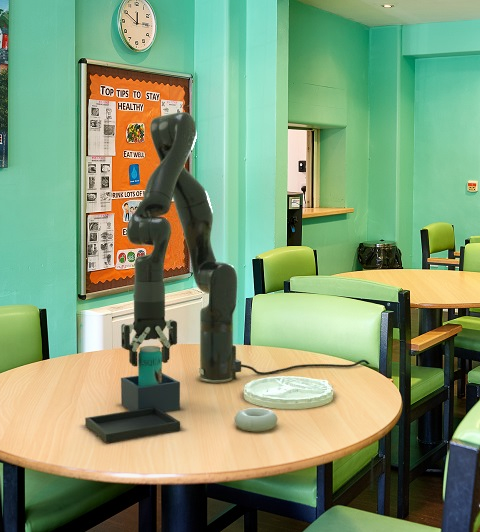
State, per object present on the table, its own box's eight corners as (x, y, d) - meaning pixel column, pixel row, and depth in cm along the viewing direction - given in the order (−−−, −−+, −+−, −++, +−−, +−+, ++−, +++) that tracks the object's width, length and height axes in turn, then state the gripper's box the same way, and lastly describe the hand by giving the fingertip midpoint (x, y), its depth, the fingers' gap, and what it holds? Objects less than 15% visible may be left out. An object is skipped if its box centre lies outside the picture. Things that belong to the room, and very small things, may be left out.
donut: (275, 420, 194) (233, 420, 193) (275, 406, 193) (233, 405, 192) (279, 433, 184) (234, 433, 183) (279, 419, 183) (235, 418, 182)
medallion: (224, 396, 213) (224, 387, 213) (293, 377, 233) (293, 369, 232) (292, 415, 197) (292, 405, 197) (359, 393, 217) (359, 384, 217)
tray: (156, 414, 196) (156, 406, 196) (180, 430, 185) (180, 421, 185) (85, 426, 187) (85, 417, 187) (106, 443, 176) (106, 434, 175)
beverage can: (157, 411, 199) (157, 351, 197) (135, 409, 200) (134, 349, 198) (165, 404, 205) (164, 346, 203) (143, 403, 206) (143, 345, 204)
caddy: (161, 398, 210) (161, 372, 209) (180, 409, 201) (180, 382, 200) (121, 405, 204) (120, 377, 203) (138, 416, 195) (138, 388, 194)
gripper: (127, 302, 192) (128, 370, 194) (182, 298, 200) (182, 364, 202) (115, 298, 198) (116, 364, 200) (169, 294, 206) (169, 357, 208)
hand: (149, 363), depth 201 cm, fingers open, 7 cm apart
